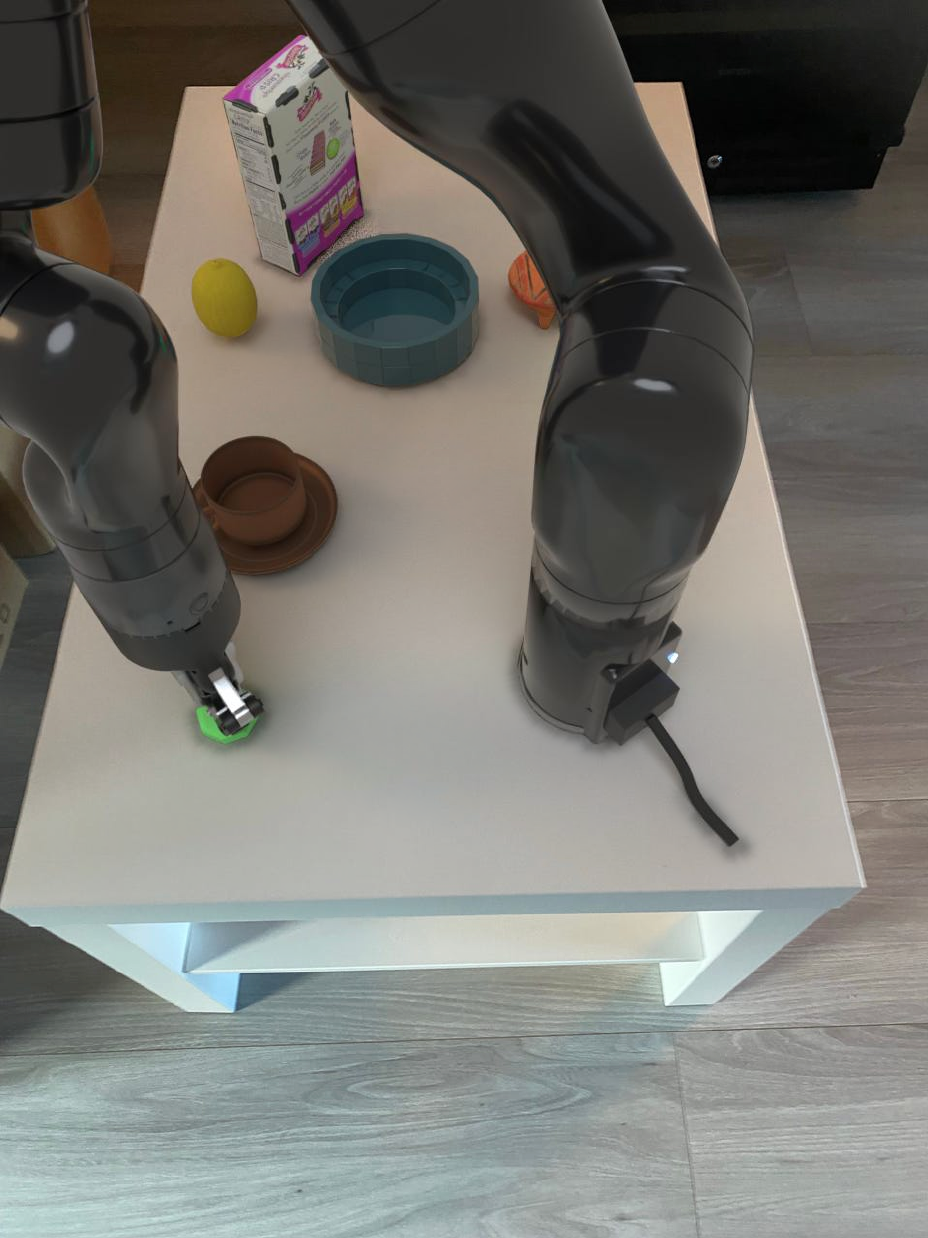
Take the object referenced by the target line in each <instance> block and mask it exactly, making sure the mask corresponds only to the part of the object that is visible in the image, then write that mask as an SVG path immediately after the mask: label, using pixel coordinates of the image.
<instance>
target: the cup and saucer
mask: <svg viewBox="0 0 928 1238" xmlns="http://www.w3.org/2000/svg"><path fill="white" fill-rule="evenodd" d="M192 489H193V492H194V494H195V497H196V499H197V501H198V503H199V505H200V506H201V508H202V509H203V510H204V512H205V514H206V515H207V517H208V519H209V521H210V522H211V524H212V527H213V529H214V531H215V534H216V536H217V539H218V542H219V544H220V547H221V549H222V552H223V554H224V557H225V559H226V562H227V564H228V567H229V569H230V572H231V573H232V572H234V573H236V574H244V575H262V574H263V575H264V574H269V573H275V572H279V571H282V570H285V569H288V568H290V567H292V566H295V565H297V564H299V563H301V562H302V561H304V560H306V559H307V558H309V557H310V556H311V555H313V554H314V553H315V552H317V550H318V549H319V548H321V546H322V545H323V544H324V543H325V541H326V540H327V539H328V537H329V536H330V534H331V532H332V530H333V528H334V525H335V522H336V520H337V514H338V507H339V505H338V504H339V502H338V494H337V489H336V486H335V484H334V482H333V480H332V479H331V477H330V475H329V474H328V473H327V471H326V470H325V469H324V468H323V467H322V466H321V465H320V464H318V462H316V461H314V460H313V459H311V458H309V457H308V456H305V455H303V454H300V453H297V452H294V451H293V449H292V448H291V447H290V446H288V444H286V443H284V442H282V441H281V440H279V439H276V438H274V437H270V436H266V435H247V436H242V437H238V438H237V437H236V438H234V439H231V440H229V441H227V442H225V443H223V444H222V445H220V446H219V447H217V448H216V449H215V450H213V452H212V453H211V454H210V455H209V456H208V457H207V458H206V460H205V462H204V464H203V466H202V468H201V471H200V477H199V479H198V480H197V481H196V482H195V484H194V485H193V487H192Z"/></svg>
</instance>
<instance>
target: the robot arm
mask: <svg viewBox="0 0 928 1238" xmlns="http://www.w3.org/2000/svg"><path fill="white" fill-rule="evenodd" d="M284 1H285V4H287V6H288V7H289V9H290V11H291V12H292V14H293V15H294V17H295V18H296V20H297V21H298V22H299V24H300V26H301V27H302V29H303V30H304V32H305V33H306V36H308V37H309V38H310V39H311V41H312V42H313V44H314V45H315V47H316V48H317V49H318V51H319V53H320V55H321V56H322V58H323V59H324V60H325V62H326V63H327V65H328V66H329V68H330V69H331V70H332V72H333V73H334V74H335V76H336V77H337V78H338V80H339V81H340V82H341V84H342V85H343V86H344V87H345V89H346V90H347V91H348V94H349V95H350V96H351V97H352V98H353V99H354V101H356V102H357V103H358V104H359V106H361V107H362V108H363V109H364V110H365V111H366V112H367V114H369V115H371V116H372V117H373V118H374V119H376V120H377V121H378V122H379V123H380V124H381V125H383V127H385V128H386V129H387V130H389V131H390V132H391V133H392V134H393V135H395V136H396V137H398V138H399V139H401V140H403V141H404V142H405V143H407V144H408V145H410V146H411V147H413V148H414V149H416V150H417V151H419V152H420V153H422V154H423V155H425V156H427V157H428V158H430V159H431V160H433V161H434V162H436V163H438V164H439V165H441V166H443V167H445V169H446V168H447V169H448V170H449V171H451V172H453V173H455V174H456V175H458V176H460V177H461V178H463V179H464V180H465V181H467V182H468V183H470V184H471V185H472V186H474V187H475V188H477V189H478V190H479V191H481V192H482V193H483V194H484V195H485V196H486V197H487V198H488V199H489V200H490V201H491V202H492V203H493V204H494V205H495V207H496V208H497V209H498V210H499V211H500V213H501V214H502V215H503V216H504V217H505V219H506V221H507V222H508V224H509V225H510V227H511V229H513V231H514V233H516V235H517V237H518V239H519V241H520V242H521V245H522V246H523V248H524V249H525V251H527V252H528V254H529V256H530V258H531V260H532V262H533V264H534V265H535V267H536V269H537V271H538V273H539V275H540V277H541V279H542V281H543V283H544V285H545V287H546V289H547V291H548V294H549V296H550V298H551V301H552V303H553V306H554V308H555V311H556V313H555V315H556V318H557V324H558V332H559V336H558V340H557V345H556V348H555V352H554V356H553V361H552V365H551V369H550V373H549V377H548V380H547V385H546V389H545V393H544V396H543V401H542V404H541V408H540V414H539V418H538V424H537V431H536V432H537V433H536V438H535V439H536V440H535V448H534V449H535V450H534V461H533V462H534V463H533V478H532V494H531V511H530V520H531V526H532V529H533V532H534V533H533V542H532V552H531V560H530V561H531V562H530V571H529V581H528V582H529V583H528V591H527V593H528V594H527V601H526V610H525V611H526V613H525V621H524V622H525V623H524V633H523V638H522V643H521V647H520V651H519V654H518V655H519V656H518V660H517V665H516V669H518V668H519V681H520V686H521V690H522V692H523V695H524V697H525V700H526V701H527V702H528V704H529V705H530V707H531V708H532V709H533V711H534V712H535V713H537V714H538V715H539V717H541V718H542V719H543V720H544V721H546V722H547V723H549V724H550V725H553V726H554V727H556V728H559V729H561V730H564V731H566V732H569V733H570V732H571V733H574V734H580V735H581V734H582V735H583V736H585V737H586V738H588V739H589V741H590V742H591V743H592V744H595V745H596V744H599V743H601V742H602V741H603V740H605V739H606V738H607V737H608V736H610V737H611V739H613V741H614V742H616V744H617V745H618V746H619V747H620V746H622V745H624V744H625V743H627V742H628V741H629V740H630V739H632V738H634V736H636V735H637V734H639V733H640V732H641V731H642V730H643V729H644V728H647V726H648V728H649V730H650V731H651V732H652V733H653V735H654V736H655V738H656V740H658V742H659V743H660V745H661V746H662V748H663V749H664V751H665V752H666V754H667V755H668V757H669V758H670V760H671V761H672V763H673V765H674V767H675V769H677V772H678V774H679V776H680V778H681V781H682V784H683V786H684V790H685V792H686V795H687V796H688V798H689V800H690V802H691V803H692V805H693V806H694V808H695V810H696V811H697V813H698V814H699V815H700V816H701V818H703V820H704V821H705V822H706V823H707V824H708V825H709V827H710V828H712V830H714V831H715V833H716V834H717V835H718V836H719V837H720V838H721V839H722V840H723V841H724V842H725V843H726V844H727V846H728V847H732V846H733V845H734V844H736V843H737V842H738V841H739V840H740V838H739V837H738V836H737V834H736V833H735V832H734V831H733V830H732V829H731V828H730V827H729V826H728V825H727V824H726V823H725V822H724V821H723V820H722V818H720V816H718V815H717V813H716V812H715V811H714V810H713V809H712V808H711V806H710V805H709V804H708V802H707V801H706V799H705V798H704V797H703V795H702V794H701V791H700V790H699V787H698V785H697V781H696V779H695V776H694V773H693V770H692V769H691V767H690V765H689V763H688V761H687V759H686V758H685V756H684V754H683V753H682V751H681V750H680V748H679V746H678V745H677V744H676V742H675V740H674V739H673V738H672V736H671V735H670V734H669V732H668V730H667V729H666V728H665V726H664V724H663V723H662V722H661V720H660V719H659V717H661V716H662V715H663V714H664V713H666V712H667V711H668V710H670V709H671V708H672V707H673V706H674V705H675V702H676V699H677V697H678V695H679V692H680V690H681V688H680V686H678V684H677V683H676V682H674V680H673V679H672V678H671V677H670V676H669V675H668V672H669V671H670V668H671V665H672V664H673V663H674V662H675V661H676V659H678V656H679V654H678V653H676V651H677V648H678V646H679V644H680V641H681V639H682V636H683V630H682V628H681V627H680V626H679V625H678V624H677V623H676V622H675V621H674V618H675V615H676V613H677V610H678V608H679V605H680V602H681V599H682V597H683V593H684V590H685V587H686V585H687V583H688V580H689V577H690V574H691V572H692V568H693V566H694V565H695V564H696V563H697V562H698V561H699V560H700V559H701V558H702V557H703V555H704V554H705V553H706V551H707V549H708V548H709V545H710V544H711V541H712V539H713V536H714V534H715V531H716V529H717V527H718V524H719V522H720V520H721V517H722V516H723V515H722V514H724V513H723V512H724V510H725V508H726V505H727V503H728V501H729V498H730V495H731V493H732V490H733V488H734V485H735V483H736V479H737V477H738V474H739V471H740V469H741V464H742V462H743V457H744V453H745V449H746V442H747V436H748V426H749V417H750V404H751V393H752V392H751V390H752V383H753V382H752V381H753V371H754V362H755V348H756V347H755V327H754V321H753V318H752V313H751V309H750V306H749V304H748V301H747V297H746V296H745V293H744V291H743V289H742V288H741V287H742V286H741V285H740V283H739V281H738V279H737V278H736V276H735V274H734V272H733V270H732V269H731V267H730V265H729V263H728V262H727V260H726V257H724V255H723V253H722V251H721V249H720V248H719V246H718V244H717V242H716V241H715V239H714V238H713V236H712V234H711V233H710V231H709V230H708V228H707V226H706V224H705V223H704V221H703V220H702V218H701V216H700V214H699V212H698V211H697V209H696V207H695V205H694V204H693V202H692V200H691V199H690V197H689V195H688V194H687V192H686V190H685V188H684V186H683V185H682V183H681V181H680V180H679V178H678V176H677V174H676V173H675V171H674V169H673V167H672V165H671V163H670V161H669V160H668V158H667V155H666V154H665V152H664V151H663V148H662V147H661V144H660V142H659V141H658V139H657V136H656V134H655V132H654V130H653V128H652V126H651V124H650V122H649V119H648V117H647V114H646V111H645V108H644V106H643V104H642V101H641V99H640V96H639V93H638V90H637V88H636V85H635V82H634V79H633V76H632V74H631V71H630V69H629V66H628V63H627V60H626V58H625V55H624V52H623V50H622V48H621V44H620V42H619V40H618V37H617V34H616V32H615V30H614V27H613V25H612V21H611V20H610V18H609V15H608V13H607V11H606V8H605V5H604V3H603V0H284ZM90 17H91V16H90V10H89V1H88V0H0V425H1V426H3V427H5V428H7V429H8V430H10V431H13V432H15V433H17V434H19V435H20V436H22V437H25V438H26V439H29V440H30V441H29V443H28V445H27V447H26V449H25V452H24V456H23V461H22V482H23V485H24V489H25V493H26V496H27V498H28V501H29V502H30V505H31V506H32V508H33V510H34V512H35V514H36V516H37V517H38V520H39V521H40V523H41V524H42V526H43V527H44V529H45V530H46V532H47V533H48V535H49V537H50V538H51V540H52V542H53V543H54V544H55V546H56V547H57V549H58V550H59V552H60V553H61V555H62V556H63V558H64V559H65V561H66V564H67V567H68V570H69V572H70V575H71V578H72V579H73V581H74V584H75V585H76V587H77V589H78V590H79V592H80V594H81V595H82V596H83V598H84V600H85V601H86V603H87V604H88V606H89V607H90V609H91V610H92V612H93V613H94V615H95V616H96V618H97V619H98V621H99V623H100V624H101V625H102V628H104V630H105V631H106V633H107V635H108V636H109V638H110V639H111V641H112V643H113V644H114V645H115V647H116V648H117V650H118V651H119V653H121V655H122V656H124V657H125V658H126V659H128V661H130V662H131V663H133V664H134V665H137V666H139V667H141V668H144V669H147V670H151V671H156V672H169V673H171V675H172V676H173V678H174V679H175V680H176V682H177V683H178V685H179V686H181V687H184V688H185V690H186V692H187V694H188V695H189V696H190V698H191V699H192V701H193V702H194V704H195V706H196V707H198V708H199V707H204V706H205V707H206V708H207V710H206V712H207V714H208V715H209V717H211V716H212V717H213V719H214V720H215V722H216V724H217V726H218V729H219V730H220V732H221V733H223V735H225V736H229V735H230V734H231V735H232V736H233V735H234V734H236V733H237V732H239V731H241V730H242V729H244V728H245V727H247V726H248V725H250V723H249V722H250V721H252V720H253V719H255V718H256V717H258V716H259V717H260V716H261V715H263V714H264V713H265V712H266V710H265V709H264V706H265V705H264V703H263V701H262V700H261V698H258V697H257V696H256V695H255V694H253V693H252V692H251V691H250V690H249V689H248V690H247V691H246V692H245V691H244V690H245V689H244V688H243V687H242V686H241V684H242V683H243V682H244V680H245V675H244V673H243V671H242V668H241V667H240V665H239V662H238V660H237V658H236V653H237V648H236V647H235V645H234V643H233V641H232V638H233V636H234V635H235V633H236V631H237V627H238V625H239V622H240V618H241V613H242V612H241V611H242V603H241V597H240V592H239V589H238V587H237V585H236V582H235V580H234V577H233V574H232V571H230V569H229V567H228V564H227V562H226V559H225V557H224V554H223V552H222V549H221V547H220V544H219V542H218V539H217V536H216V534H215V531H214V529H213V527H212V524H211V522H210V521H209V519H208V517H207V515H206V514H205V512H204V510H203V509H202V508H201V506H200V505H199V503H198V501H197V499H196V497H195V494H194V492H193V489H192V488H193V487H192V484H191V482H190V480H189V477H188V474H187V472H186V469H185V467H184V465H183V462H182V460H181V458H180V454H179V453H180V452H179V451H180V450H179V449H180V446H179V442H180V440H179V439H180V419H179V385H180V384H179V373H180V371H179V360H178V356H177V350H176V348H175V345H174V342H173V339H172V338H171V335H170V333H169V331H168V329H167V328H166V326H165V324H164V323H163V322H162V319H161V318H160V316H159V315H158V313H156V311H155V310H154V308H153V307H152V306H151V305H150V304H149V302H148V301H147V300H146V299H145V298H144V297H143V296H142V295H141V294H140V293H139V292H138V291H136V290H135V289H134V288H132V287H130V286H129V285H127V284H126V283H124V282H123V281H122V280H119V279H117V278H115V277H113V276H110V275H109V274H106V273H104V272H101V271H99V270H97V269H94V268H91V267H89V266H87V265H84V264H82V263H79V262H77V261H75V260H72V259H70V258H68V257H65V256H63V255H61V254H58V253H55V252H53V251H51V250H48V249H46V248H43V247H42V246H41V245H40V243H39V241H38V238H37V235H36V232H35V227H34V226H35V225H34V218H33V211H37V210H43V209H49V208H53V207H57V206H60V205H64V204H66V203H68V202H70V201H73V200H75V199H76V198H79V197H80V196H81V195H83V194H84V193H85V192H87V191H88V190H89V189H90V187H91V186H92V185H93V184H94V183H95V181H96V180H97V178H98V177H99V173H100V170H101V168H102V163H103V158H104V130H103V129H104V128H103V117H102V108H101V101H100V93H99V83H98V75H97V66H96V58H95V51H94V50H95V49H94V42H93V34H92V25H91V18H90ZM243 689H244V690H243ZM251 693H252V694H251Z"/></svg>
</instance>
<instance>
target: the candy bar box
mask: <svg viewBox="0 0 928 1238" xmlns="http://www.w3.org/2000/svg"><path fill="white" fill-rule="evenodd" d="M221 99H222V104H223V107H224V111H225V115H226V119H227V124H228V128H229V130H230V135H231V139H232V140H231V141H232V144H233V148H234V152H235V156H236V160H237V164H238V168H239V172H240V174H241V175H240V176H241V178H242V179H241V180H242V184H243V187H244V192H245V196H246V201H247V203H248V209H249V212H250V215H251V220H252V224H253V229H254V233H255V237H256V240H257V246H258V250H259V252H260V257H261V260H262V261H263V262H265V263H268V264H269V265H272V266H275V267H277V268H279V269H282V270H285V271H286V272H289V273H291V274H293V275H295V276H298V277H299V276H301V275H303V274H304V273H305V272H306V271H307V270H308V269H309V268H311V266H312V265H313V264H314V263H315V262H316V261H317V260H318V259H319V258H320V257H321V256H322V255H323V254H324V253H325V252H326V251H327V250H328V249H329V248H330V247H332V245H333V244H334V243H335V242H336V241H337V240H339V238H340V237H341V236H343V234H345V232H346V231H348V229H349V228H350V227H351V226H352V225H354V223H355V222H356V221H358V220H359V219H360V218H361V217H362V216H363V215H364V213H365V210H364V204H363V195H362V189H361V182H360V174H359V167H358V160H357V159H358V158H357V150H356V143H355V136H354V129H353V120H352V112H351V106H350V98H349V92H348V91H347V90H346V89H345V87H344V86H343V85H342V84H341V82H340V81H339V80H338V78H337V77H336V76H335V74H334V73H333V72H332V70H331V69H330V68H329V66H328V65H327V63H326V62H325V60H324V59H323V58H322V56H321V55H320V53H319V51H318V49H317V48H316V47H315V45H314V44H313V42H312V41H311V39H310V38H309V36H308V35H302V34H299V35H298V36H296V37H295V38H294V39H293V40H292V41H290V42H289V43H288V44H287V45H285V46H284V47H283V48H282V49H280V50H279V51H278V52H277V53H275V54H274V55H273V56H271V58H269V59H268V60H267V61H266V62H264V63H263V64H262V65H260V66H259V67H258V68H256V70H254V71H253V72H252V73H250V75H248V76H246V78H244V79H243V80H242V81H240V82H239V83H237V84H236V86H234V87H233V88H232V89H231V90H229V91H228V92H227V93H226V94H224V95H223V96H222V97H221Z"/></svg>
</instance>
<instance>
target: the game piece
mask: <svg viewBox="0 0 928 1238" xmlns="http://www.w3.org/2000/svg"><path fill="white" fill-rule="evenodd" d="M242 689H243V690H244V691H245V692H246V691H248V690H247V689H244V688H242ZM251 694H252V695H253V693H252V692H251ZM206 710H207V708H206V707H205V706H204V707H198V708H197V710H195V713H196V716H197V720H198V723H199V727H200V731H201V733H202V735H203V736H204V737H206V738H209V739H211V740H213V741H216V742H218V743H221V744H223V745H227V744H230V743H233V742H236V741H238V740H241V739H244V738H246V737H249V735H250V733H251V731H252V730H253V728H254V727H255V725H256V723H257V721H258V720H259V718H260V715H259V716H258V717H256V718H255V719H253V720H252V721H250V722H249V723H250V725H248V726H247V727H245V728H244V729H242V730H241V731H239V732H237V733H236V734H234V735H233V736H232V735H231V734H230V735H229V736H225V735H223V733H221V732H220V730H219V729H218V726H217V724H216V722H215V720H214V719H213V717H212V716H211V717H209V715H208V714H207V712H206Z"/></svg>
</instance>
